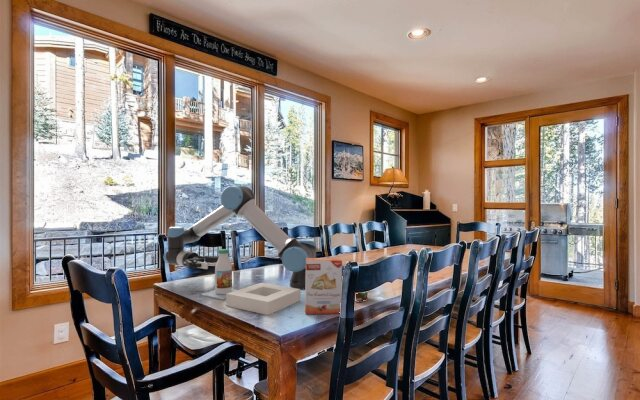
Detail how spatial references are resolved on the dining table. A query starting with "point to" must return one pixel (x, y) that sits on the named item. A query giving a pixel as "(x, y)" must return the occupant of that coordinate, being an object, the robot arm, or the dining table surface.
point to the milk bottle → (223, 273)
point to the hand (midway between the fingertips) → (218, 263)
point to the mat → (215, 295)
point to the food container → (361, 296)
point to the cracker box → (323, 285)
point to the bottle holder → (263, 298)
